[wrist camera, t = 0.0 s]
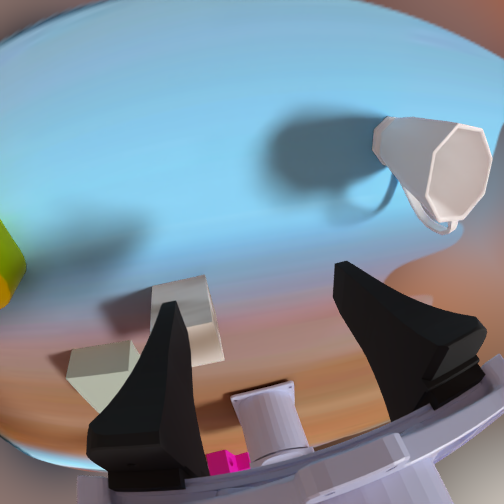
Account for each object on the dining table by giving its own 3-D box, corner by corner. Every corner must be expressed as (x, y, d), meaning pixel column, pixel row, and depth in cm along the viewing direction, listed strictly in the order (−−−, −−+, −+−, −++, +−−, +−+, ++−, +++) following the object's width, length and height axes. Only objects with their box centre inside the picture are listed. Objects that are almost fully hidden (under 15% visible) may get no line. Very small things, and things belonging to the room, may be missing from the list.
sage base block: (155, 377, 31) (156, 407, 28) (101, 385, 31) (99, 413, 27) (130, 338, 27) (128, 370, 24) (72, 347, 27) (65, 378, 23)
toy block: (263, 462, 54) (271, 491, 48) (236, 469, 55) (243, 498, 48) (237, 445, 46) (246, 482, 40) (206, 453, 46) (212, 489, 40)
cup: (414, 90, 20) (490, 110, 13) (430, 191, 25) (490, 232, 19) (346, 114, 20) (418, 141, 13) (374, 221, 26) (429, 274, 19)
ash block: (215, 313, 28) (224, 360, 23) (167, 323, 27) (169, 371, 22) (204, 274, 25) (212, 321, 20) (152, 285, 24) (149, 334, 20)
